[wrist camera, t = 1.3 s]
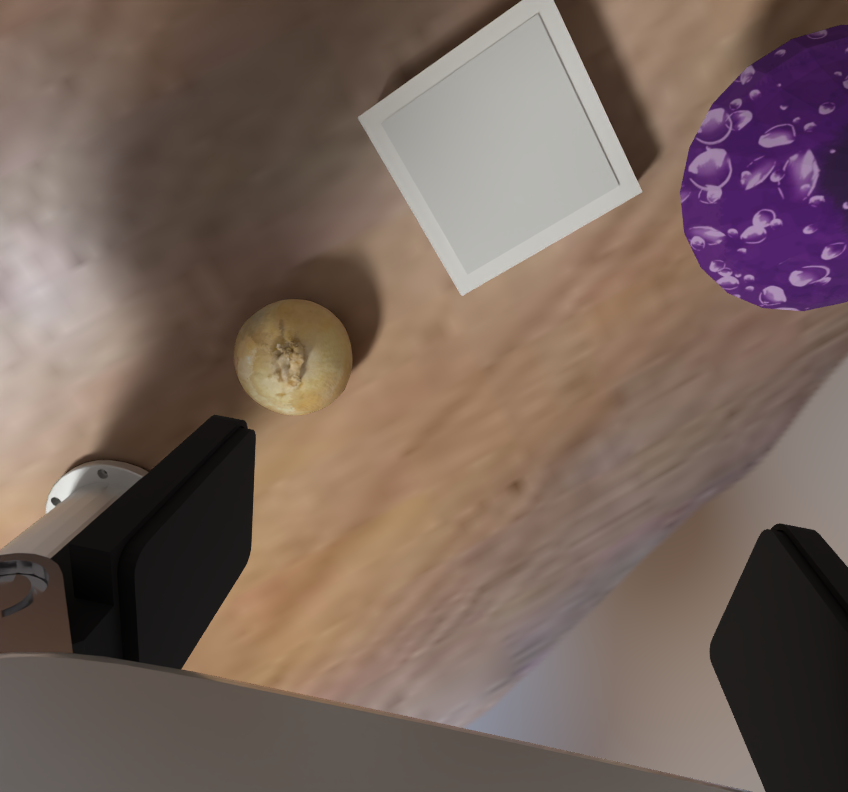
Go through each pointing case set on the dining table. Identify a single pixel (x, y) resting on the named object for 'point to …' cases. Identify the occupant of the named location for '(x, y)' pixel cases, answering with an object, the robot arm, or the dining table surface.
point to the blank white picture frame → (502, 145)
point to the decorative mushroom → (776, 178)
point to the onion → (293, 357)
